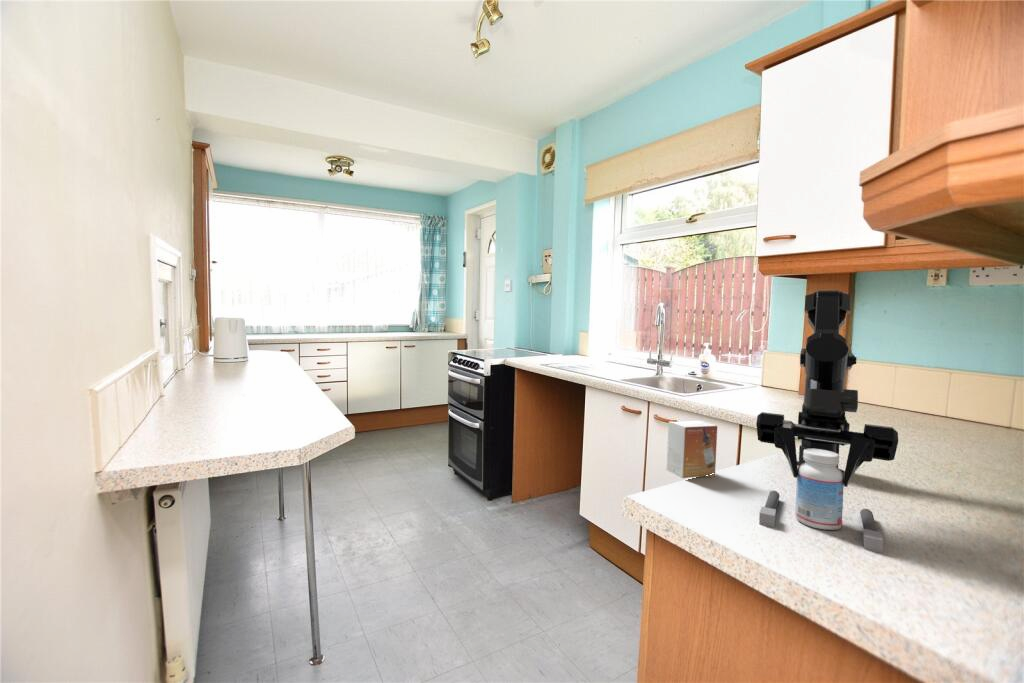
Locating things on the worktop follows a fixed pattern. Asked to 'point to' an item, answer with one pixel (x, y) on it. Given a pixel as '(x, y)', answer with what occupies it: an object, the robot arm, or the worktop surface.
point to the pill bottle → (819, 490)
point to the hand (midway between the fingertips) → (819, 480)
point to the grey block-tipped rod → (769, 510)
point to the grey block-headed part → (871, 532)
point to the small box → (691, 448)
